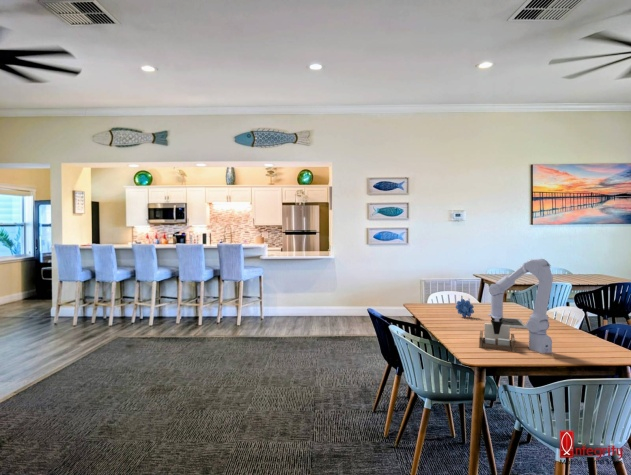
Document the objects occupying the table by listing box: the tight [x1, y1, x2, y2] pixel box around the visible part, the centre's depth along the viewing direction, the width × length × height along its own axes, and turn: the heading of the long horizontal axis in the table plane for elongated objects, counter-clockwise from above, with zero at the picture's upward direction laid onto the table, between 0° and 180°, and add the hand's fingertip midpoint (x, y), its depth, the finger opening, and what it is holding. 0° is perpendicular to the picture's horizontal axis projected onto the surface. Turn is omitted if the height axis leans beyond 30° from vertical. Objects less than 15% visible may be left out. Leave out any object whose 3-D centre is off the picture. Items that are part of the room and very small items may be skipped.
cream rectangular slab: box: [483, 322, 511, 340], centre depth 209 cm, size 2×12×8 cm, turn 66°
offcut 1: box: [485, 338, 495, 344], centre depth 194 cm, size 2×4×4 cm, turn 66°
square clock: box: [501, 317, 528, 330], centre depth 245 cm, size 16×3×21 cm
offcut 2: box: [498, 338, 511, 346], centre depth 192 cm, size 2×5×4 cm, turn 66°
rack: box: [478, 330, 516, 353], centre depth 201 cm, size 24×16×6 cm, turn 156°
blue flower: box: [455, 298, 475, 318], centre depth 263 cm, size 12×7×12 cm, turn 78°
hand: (496, 332), depth 209 cm, fingers open, 7 cm apart
